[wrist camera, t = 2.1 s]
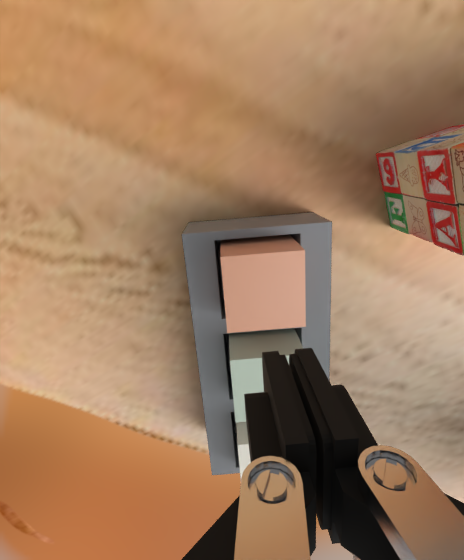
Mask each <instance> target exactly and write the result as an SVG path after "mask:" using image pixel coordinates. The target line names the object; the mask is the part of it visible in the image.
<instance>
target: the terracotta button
mask: <svg viewBox="0 0 464 560" xmlns="http://www.w3.org/2000/svg"><path fill="white" fill-rule="evenodd" d="M220 258H221V269H222V280H223V291H224V302H225V313H226V324H227V333H235V332H247V331H259V330H271V329H284V328H296V327H306V299H305V250H304V249H303V248H302V247H301V246H300V245H299V244H298V243H297V242H296V241H295V240H294V239H293V238H292V237H291V236H290V235H289V234H287V235H274V236H262V237H250V238H238V239H226V240H221V251H220Z"/></svg>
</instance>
